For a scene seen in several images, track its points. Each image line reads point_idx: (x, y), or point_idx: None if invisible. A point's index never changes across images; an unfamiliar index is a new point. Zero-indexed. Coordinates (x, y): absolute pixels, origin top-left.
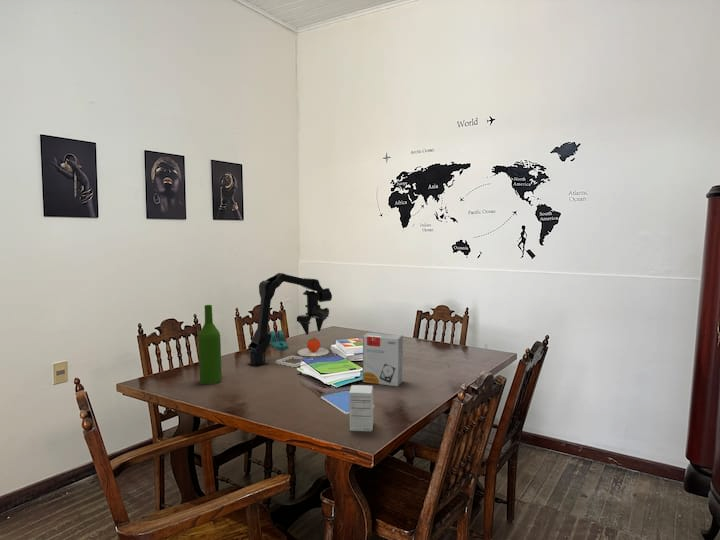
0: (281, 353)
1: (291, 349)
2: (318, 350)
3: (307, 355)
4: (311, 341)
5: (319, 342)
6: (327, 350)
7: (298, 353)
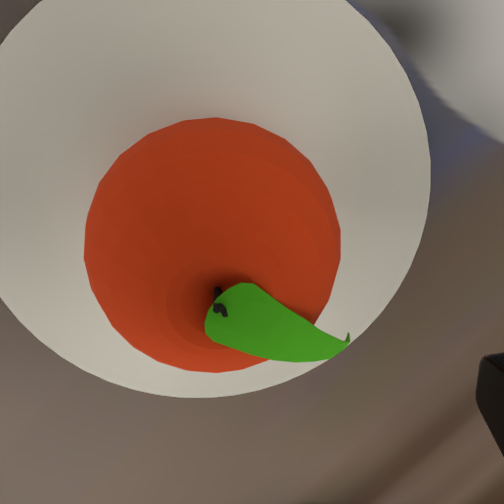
0: (431, 439)
1: (257, 488)
2: None
3: (420, 113)
4: (317, 246)
5: (143, 162)
6: (6, 82)
7: (394, 288)
